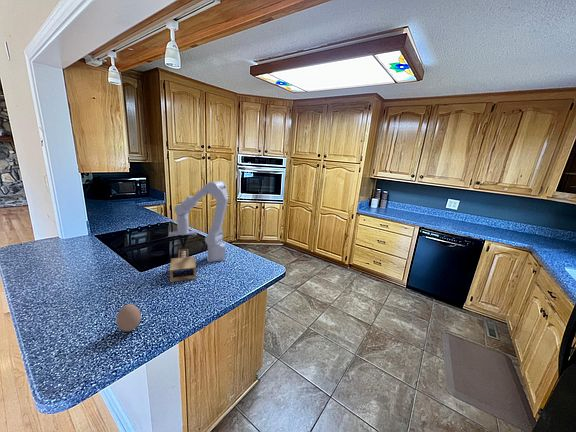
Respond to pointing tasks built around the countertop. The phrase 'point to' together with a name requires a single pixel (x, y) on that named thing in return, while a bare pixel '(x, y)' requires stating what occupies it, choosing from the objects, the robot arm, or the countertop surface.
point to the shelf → (182, 267)
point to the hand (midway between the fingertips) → (183, 247)
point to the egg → (128, 317)
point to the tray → (183, 253)
